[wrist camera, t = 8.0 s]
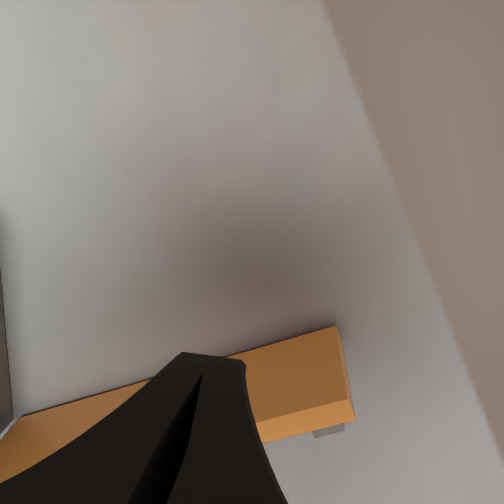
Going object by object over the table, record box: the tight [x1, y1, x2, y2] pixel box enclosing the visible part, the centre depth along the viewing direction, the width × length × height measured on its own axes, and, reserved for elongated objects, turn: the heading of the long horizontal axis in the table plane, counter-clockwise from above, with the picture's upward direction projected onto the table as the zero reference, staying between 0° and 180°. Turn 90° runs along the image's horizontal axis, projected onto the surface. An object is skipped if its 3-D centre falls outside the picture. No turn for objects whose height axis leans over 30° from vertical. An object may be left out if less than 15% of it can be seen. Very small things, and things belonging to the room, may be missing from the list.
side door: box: [0, 326, 356, 483], centre depth 18 cm, size 15×1×5 cm, turn 111°
